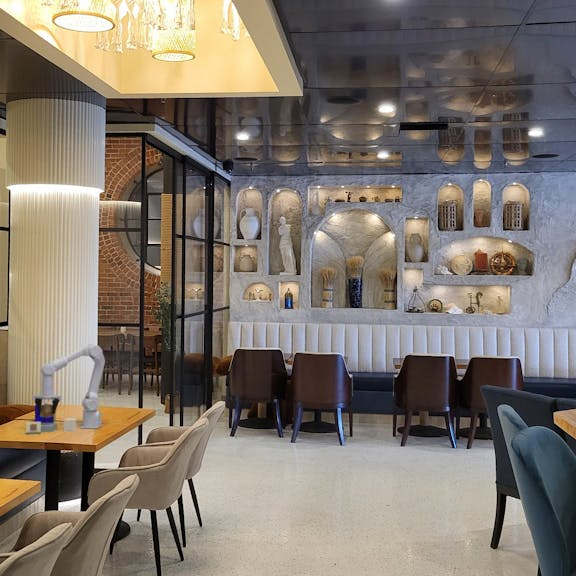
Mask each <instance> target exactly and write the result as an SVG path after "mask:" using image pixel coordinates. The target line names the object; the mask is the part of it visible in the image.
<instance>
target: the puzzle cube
mask: <svg viewBox="0 0 576 576" xmlns="http://www.w3.org/2000/svg"><path fill="white" fill-rule="evenodd" d="M45 404H51V405H53V402H51V401H50V402H48V401H47V402H43V401H42V405H45ZM56 415H57V412H55V414H54V417H47V418H45V417H40V414H39V412H38V408H37V405H36V404H35V405H34V422H41V423H55V421H56V419H57V418H56Z"/></svg>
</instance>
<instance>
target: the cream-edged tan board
mask: <svg viewBox="0 0 576 576" xmlns="http://www.w3.org/2000/svg"><path fill="white" fill-rule="evenodd" d="M41 434H42V432H41V422H35V421H27V422H26V423H25V435H41Z"/></svg>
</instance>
